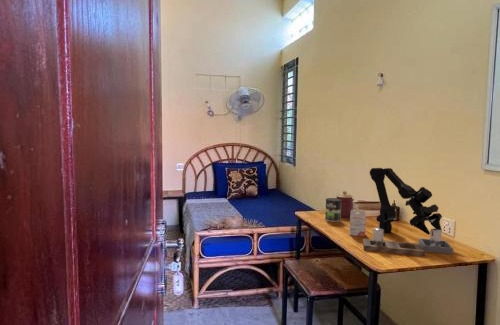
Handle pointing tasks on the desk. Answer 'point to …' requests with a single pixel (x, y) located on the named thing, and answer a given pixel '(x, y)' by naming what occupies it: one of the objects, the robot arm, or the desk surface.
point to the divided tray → (394, 247)
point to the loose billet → (435, 237)
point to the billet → (378, 236)
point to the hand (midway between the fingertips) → (435, 233)
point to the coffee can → (333, 209)
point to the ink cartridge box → (357, 223)
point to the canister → (346, 203)
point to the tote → (434, 249)
